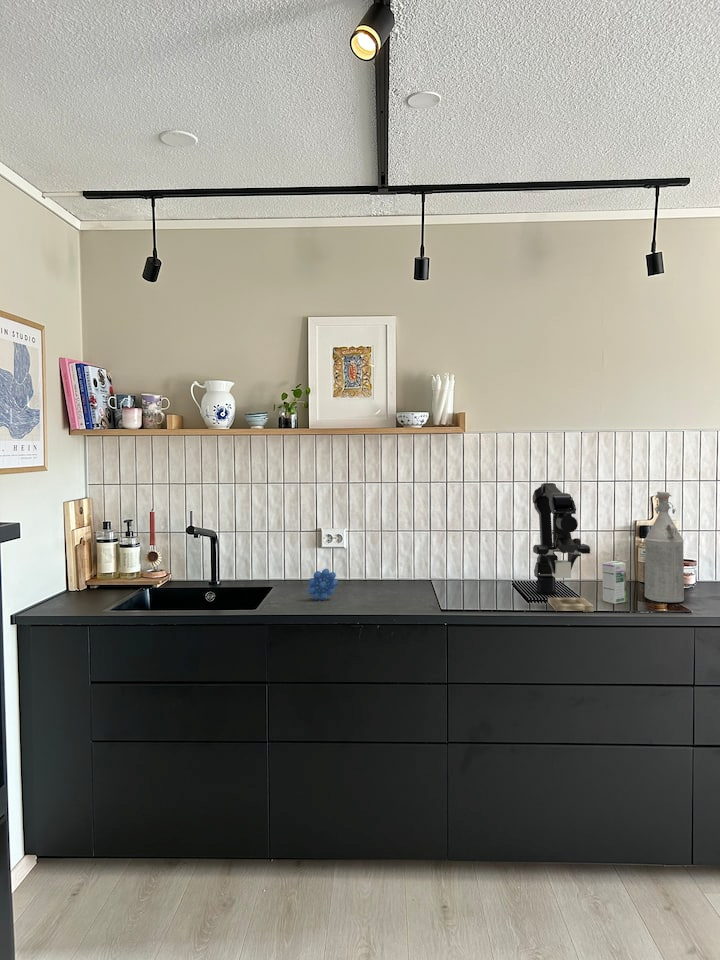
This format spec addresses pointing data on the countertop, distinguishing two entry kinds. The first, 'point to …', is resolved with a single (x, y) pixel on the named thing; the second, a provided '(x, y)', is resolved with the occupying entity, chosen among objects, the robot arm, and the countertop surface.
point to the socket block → (571, 604)
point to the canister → (664, 557)
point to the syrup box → (614, 582)
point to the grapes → (322, 584)
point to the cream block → (562, 569)
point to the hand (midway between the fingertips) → (561, 573)
